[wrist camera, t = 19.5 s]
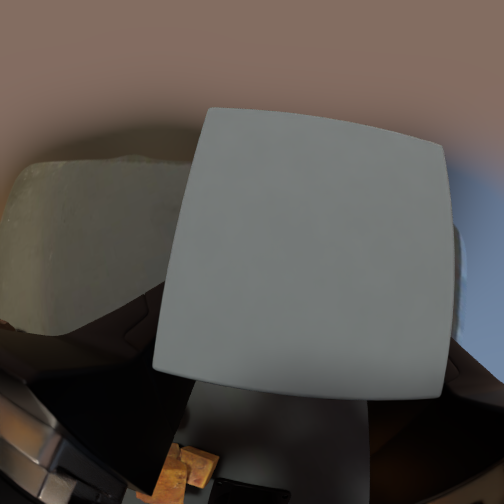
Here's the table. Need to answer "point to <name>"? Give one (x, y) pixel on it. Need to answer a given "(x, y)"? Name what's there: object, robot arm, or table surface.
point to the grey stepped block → (311, 261)
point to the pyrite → (181, 474)
